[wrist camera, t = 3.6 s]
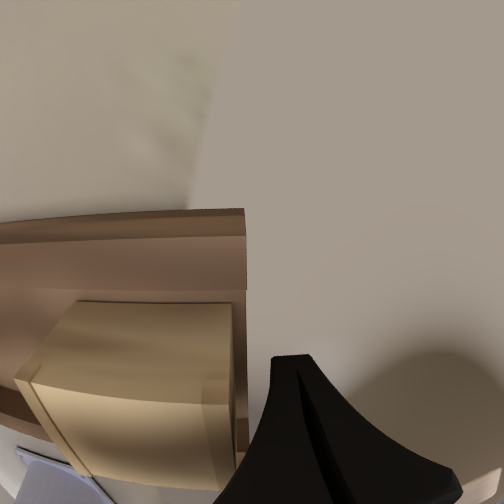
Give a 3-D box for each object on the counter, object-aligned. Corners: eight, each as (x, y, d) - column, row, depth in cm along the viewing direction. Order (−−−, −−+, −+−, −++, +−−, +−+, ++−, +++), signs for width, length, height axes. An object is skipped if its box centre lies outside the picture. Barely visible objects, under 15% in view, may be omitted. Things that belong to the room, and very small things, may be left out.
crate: (236, 402, 12) (237, 493, 8) (107, 395, 12) (78, 473, 8) (231, 300, 10) (228, 404, 6) (74, 298, 10) (12, 378, 6)
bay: (248, 420, 14) (250, 476, 11) (7, 389, 14) (-15, 424, 11) (243, 208, 10) (246, 242, 7) (-55, 230, 10) (-97, 254, 7)
